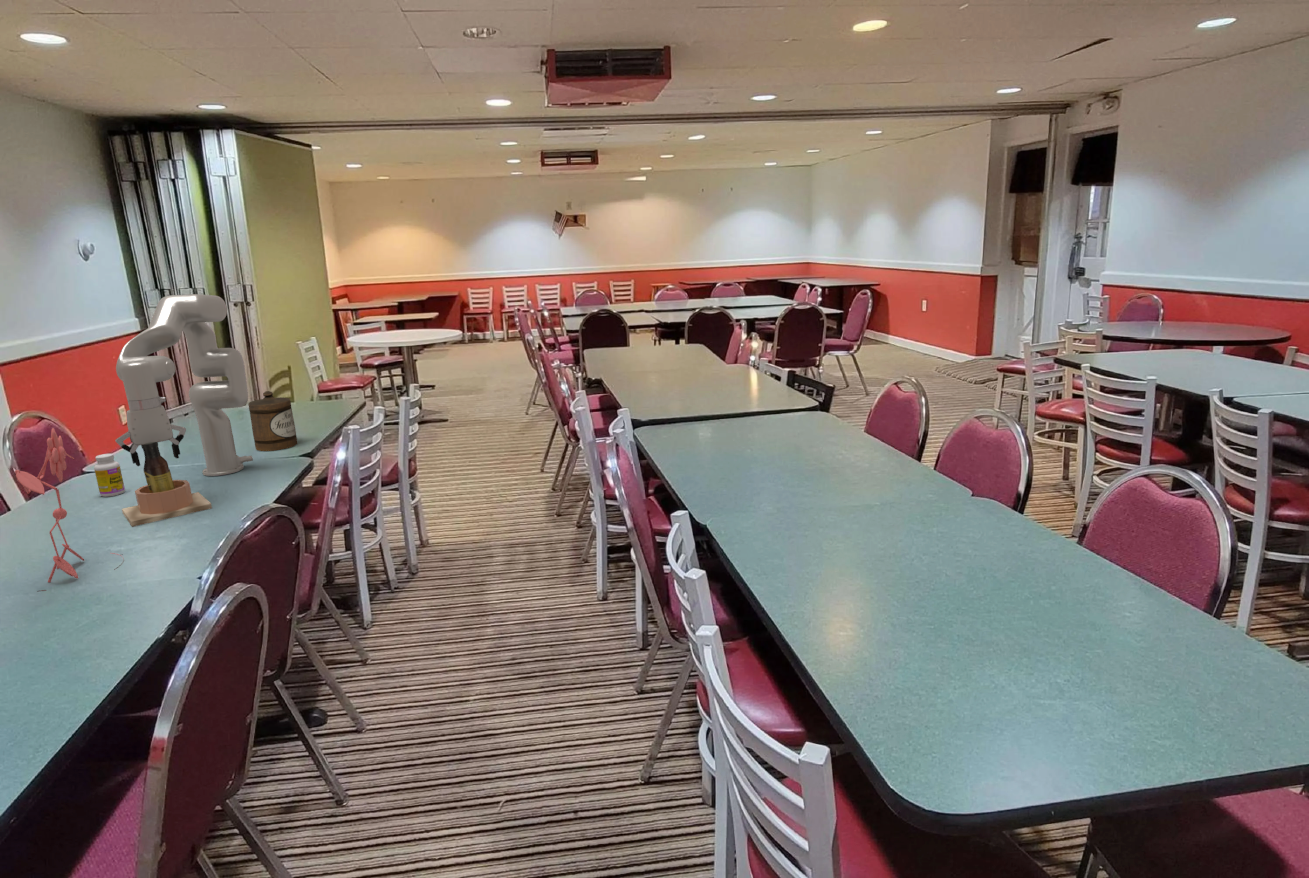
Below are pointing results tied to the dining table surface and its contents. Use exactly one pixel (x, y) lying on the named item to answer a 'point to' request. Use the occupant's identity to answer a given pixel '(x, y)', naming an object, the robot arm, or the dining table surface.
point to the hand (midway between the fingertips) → (157, 461)
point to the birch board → (138, 518)
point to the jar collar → (164, 498)
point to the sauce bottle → (156, 469)
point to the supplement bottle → (108, 476)
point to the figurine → (35, 484)
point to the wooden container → (272, 423)
